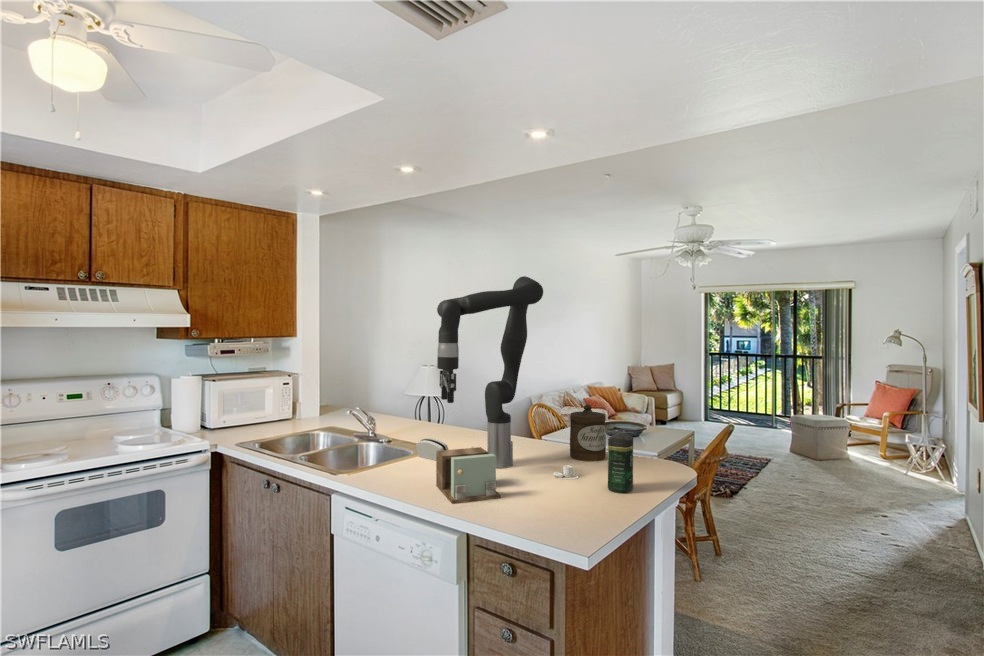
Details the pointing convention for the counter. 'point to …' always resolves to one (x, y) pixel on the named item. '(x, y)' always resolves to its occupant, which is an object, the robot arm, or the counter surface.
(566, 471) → the teacup and saucer
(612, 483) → the coffee jar
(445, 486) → the cabinet
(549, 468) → the counter surface
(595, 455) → the wooden container
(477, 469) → the door
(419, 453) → the grey rounded block
